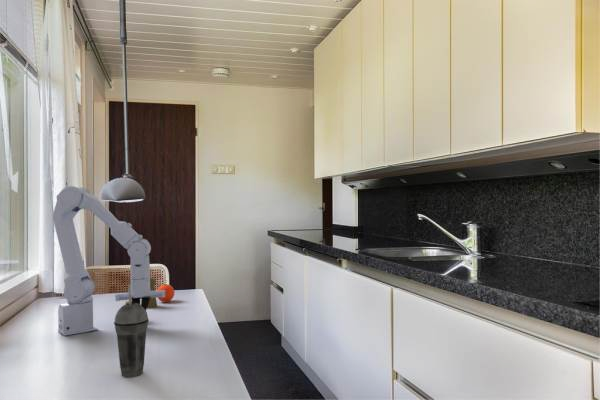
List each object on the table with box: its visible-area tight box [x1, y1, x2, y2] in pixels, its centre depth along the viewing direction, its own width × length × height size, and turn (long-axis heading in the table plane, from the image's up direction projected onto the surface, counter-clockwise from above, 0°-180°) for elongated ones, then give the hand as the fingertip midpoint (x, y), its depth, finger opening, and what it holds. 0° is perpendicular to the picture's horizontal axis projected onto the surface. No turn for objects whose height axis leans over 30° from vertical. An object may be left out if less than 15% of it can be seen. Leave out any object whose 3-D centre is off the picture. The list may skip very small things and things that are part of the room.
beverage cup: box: [113, 283, 150, 378], centre depth 105 cm, size 7×7×20 cm
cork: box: [143, 276, 158, 309], centre depth 179 cm, size 6×6×11 cm
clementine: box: [156, 283, 175, 303], centre depth 189 cm, size 8×7×7 cm
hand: (141, 322), depth 146 cm, fingers closed
